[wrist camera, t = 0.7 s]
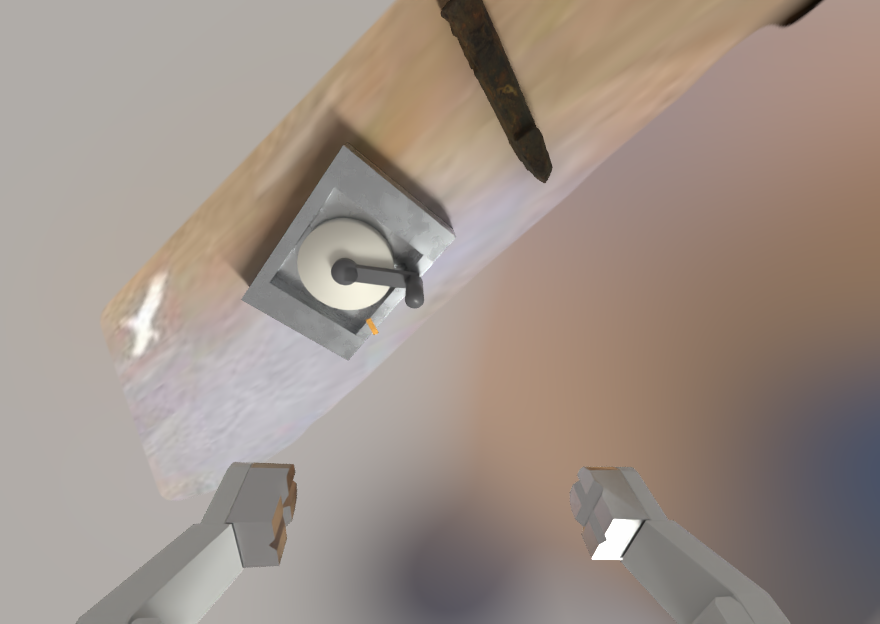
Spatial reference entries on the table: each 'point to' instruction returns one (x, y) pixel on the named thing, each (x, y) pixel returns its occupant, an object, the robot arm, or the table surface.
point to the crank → (352, 266)
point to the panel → (362, 198)
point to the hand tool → (498, 82)
